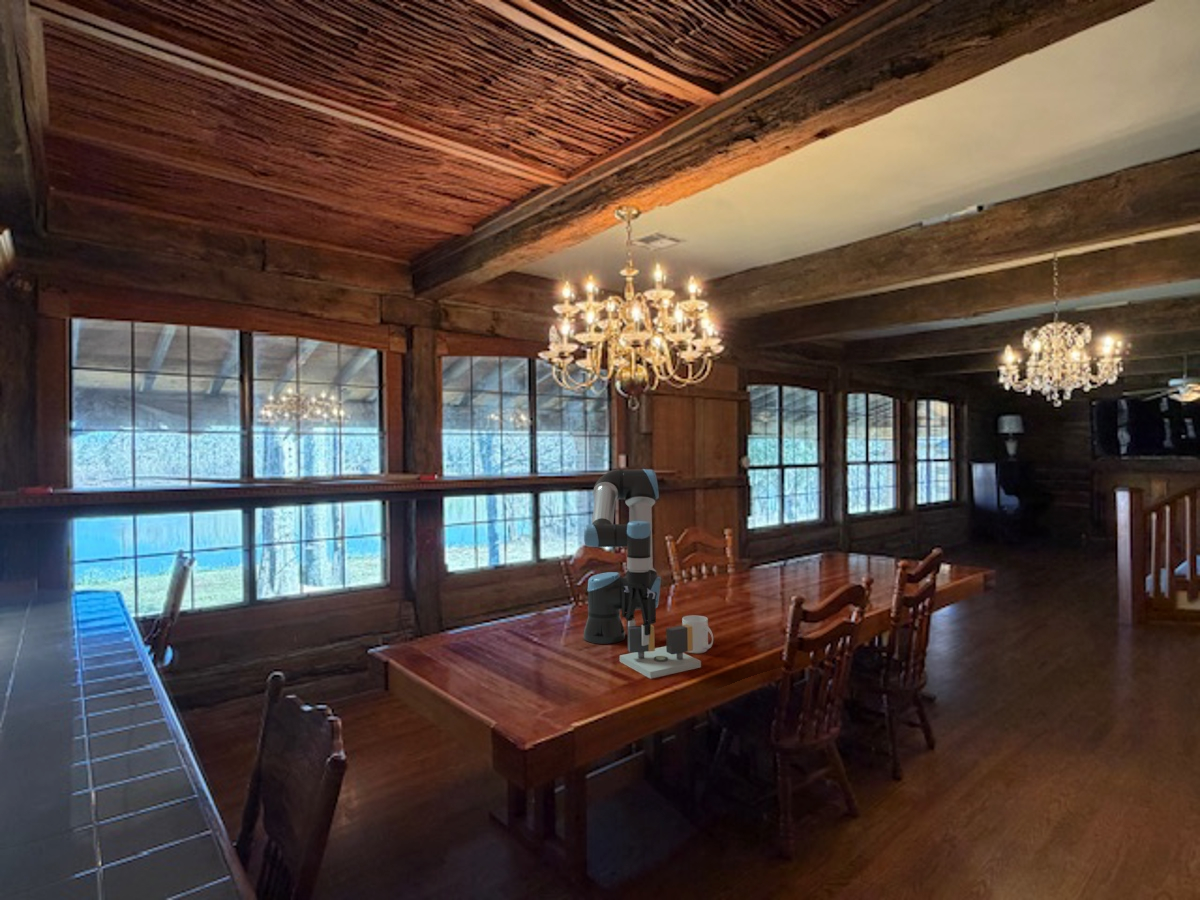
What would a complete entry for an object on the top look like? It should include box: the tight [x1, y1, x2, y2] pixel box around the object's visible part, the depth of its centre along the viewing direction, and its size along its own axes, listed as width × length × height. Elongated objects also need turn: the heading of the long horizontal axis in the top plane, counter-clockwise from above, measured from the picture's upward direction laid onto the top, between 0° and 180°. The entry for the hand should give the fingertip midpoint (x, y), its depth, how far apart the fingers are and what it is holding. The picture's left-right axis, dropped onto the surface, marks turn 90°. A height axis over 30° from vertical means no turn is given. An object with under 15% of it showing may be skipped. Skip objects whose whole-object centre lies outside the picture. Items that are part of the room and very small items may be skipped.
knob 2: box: [665, 624, 693, 659], centre depth 202 cm, size 8×3×10 cm, turn 119°
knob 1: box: [627, 624, 656, 659], centre depth 203 cm, size 8×3×10 cm, turn 101°
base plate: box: [619, 645, 702, 680], centre depth 203 cm, size 18×19×3 cm
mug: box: [681, 615, 714, 654], centre depth 216 cm, size 9×12×11 cm
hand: (638, 642), depth 203 cm, fingers closed on knob 1, 5 cm apart
